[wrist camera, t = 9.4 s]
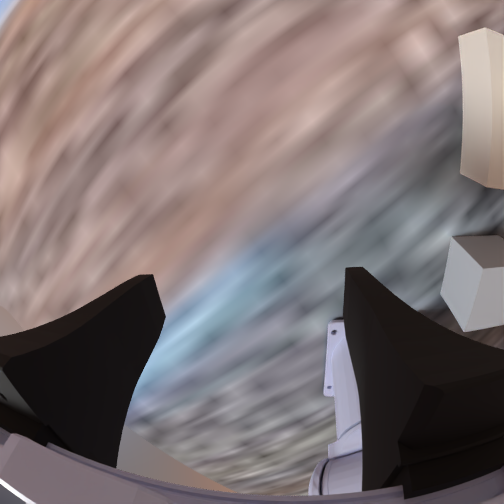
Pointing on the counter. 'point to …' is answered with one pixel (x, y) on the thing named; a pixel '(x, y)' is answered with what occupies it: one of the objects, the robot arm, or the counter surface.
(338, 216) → the counter surface
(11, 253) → the counter surface
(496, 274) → the grey cube
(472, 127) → the base block
